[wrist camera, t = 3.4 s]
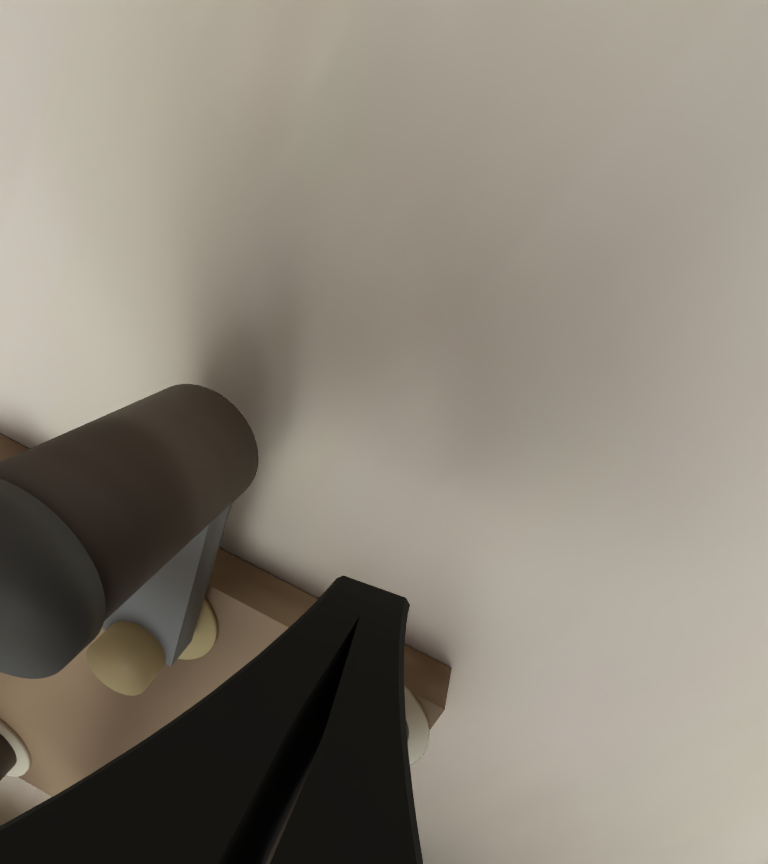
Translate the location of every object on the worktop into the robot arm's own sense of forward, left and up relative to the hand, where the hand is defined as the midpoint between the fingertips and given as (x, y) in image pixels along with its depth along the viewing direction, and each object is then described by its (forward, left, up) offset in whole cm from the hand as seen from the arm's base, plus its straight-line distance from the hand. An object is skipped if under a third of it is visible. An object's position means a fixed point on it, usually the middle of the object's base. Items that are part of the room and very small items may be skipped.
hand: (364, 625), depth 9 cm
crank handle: (+5, +3, -3) cm, 7 cm away
